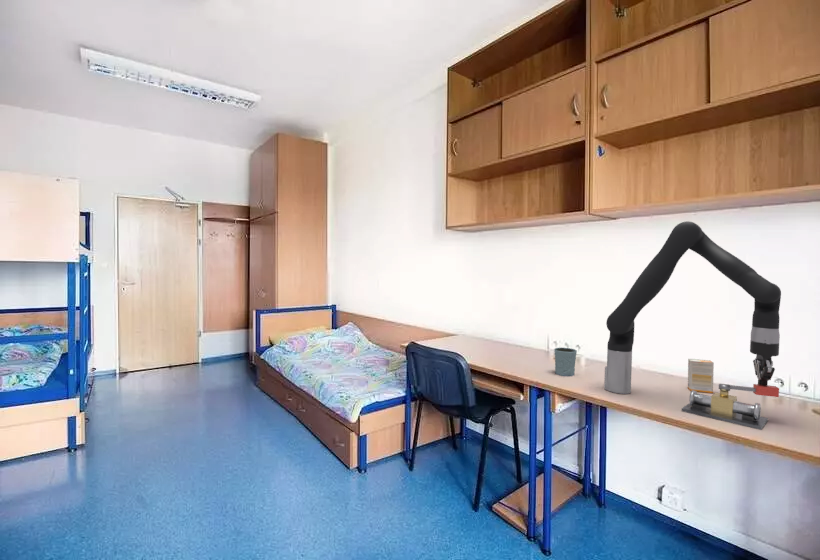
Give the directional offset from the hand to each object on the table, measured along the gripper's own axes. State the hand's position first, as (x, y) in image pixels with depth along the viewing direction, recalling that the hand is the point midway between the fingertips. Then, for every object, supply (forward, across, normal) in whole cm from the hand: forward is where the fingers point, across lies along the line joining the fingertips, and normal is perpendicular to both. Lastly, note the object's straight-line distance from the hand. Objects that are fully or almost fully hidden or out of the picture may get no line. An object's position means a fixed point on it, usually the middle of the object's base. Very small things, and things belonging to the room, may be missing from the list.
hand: (762, 390), depth 141 cm
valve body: (+10, +4, -11) cm, 15 cm away
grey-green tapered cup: (+10, -30, -66) cm, 74 cm away
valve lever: (+1, +4, -5) cm, 6 cm away
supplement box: (+10, -29, -13) cm, 33 cm away
